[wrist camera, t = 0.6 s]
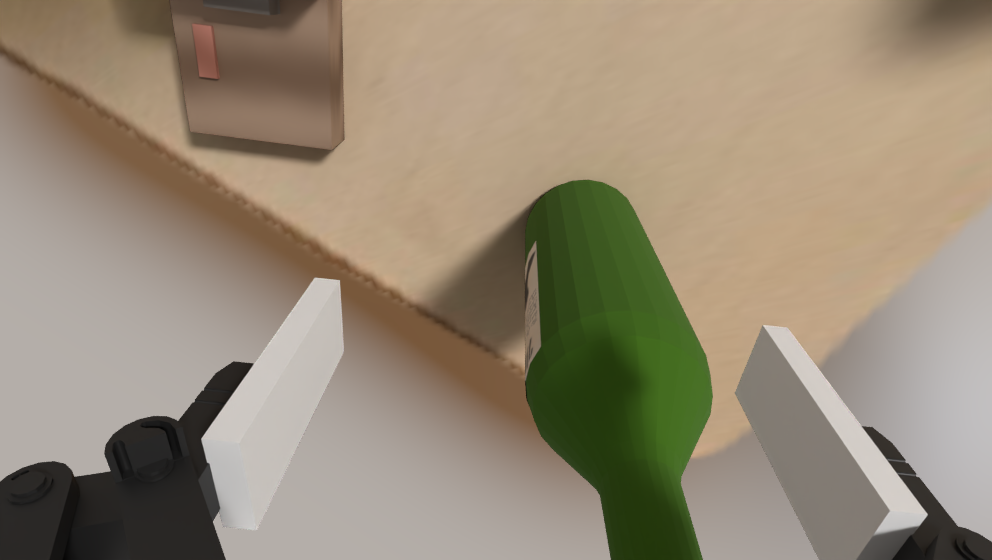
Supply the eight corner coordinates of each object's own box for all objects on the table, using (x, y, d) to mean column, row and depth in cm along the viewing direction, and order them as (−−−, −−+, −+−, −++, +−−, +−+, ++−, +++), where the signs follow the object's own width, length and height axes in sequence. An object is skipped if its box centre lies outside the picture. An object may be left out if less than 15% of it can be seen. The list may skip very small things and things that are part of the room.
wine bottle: (514, 190, 42) (494, 626, 13) (630, 167, 40) (885, 595, 12) (535, 287, 46) (554, 781, 17) (641, 270, 45) (850, 771, 16)
